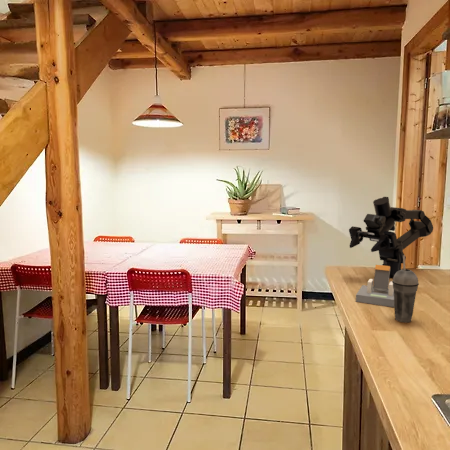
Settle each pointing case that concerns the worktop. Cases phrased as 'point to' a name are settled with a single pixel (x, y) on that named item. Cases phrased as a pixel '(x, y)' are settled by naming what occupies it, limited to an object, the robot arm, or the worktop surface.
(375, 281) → the lever
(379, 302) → the breaker base
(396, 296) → the beverage cup
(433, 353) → the worktop surface
